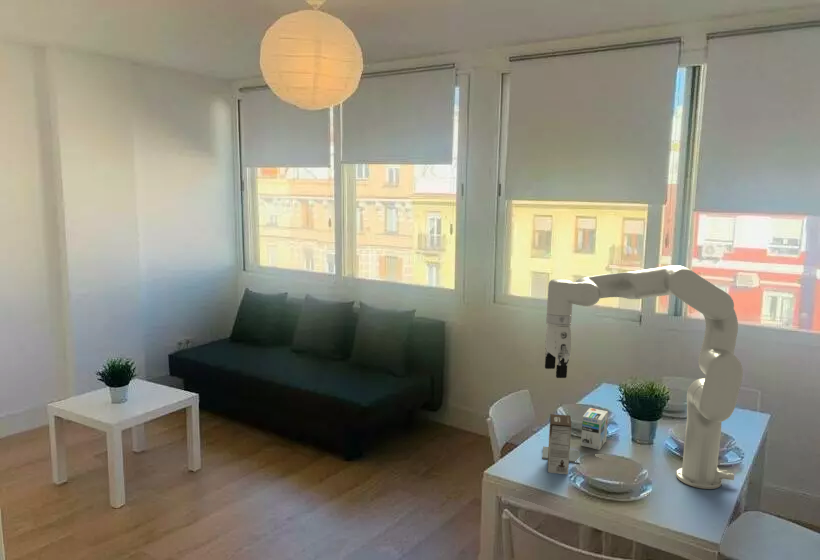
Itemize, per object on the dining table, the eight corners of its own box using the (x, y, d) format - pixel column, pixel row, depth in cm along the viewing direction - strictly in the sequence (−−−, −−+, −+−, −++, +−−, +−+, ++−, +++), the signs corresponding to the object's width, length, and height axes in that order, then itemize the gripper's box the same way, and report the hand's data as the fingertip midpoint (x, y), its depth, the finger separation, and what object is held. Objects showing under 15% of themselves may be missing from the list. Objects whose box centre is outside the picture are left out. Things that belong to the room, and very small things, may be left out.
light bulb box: (599, 450, 207) (602, 420, 205) (580, 446, 210) (582, 416, 208) (606, 440, 216) (608, 410, 214) (587, 435, 219) (589, 407, 218)
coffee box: (547, 460, 198) (550, 413, 196) (567, 462, 197) (570, 415, 194) (547, 472, 189) (550, 423, 187) (568, 475, 188) (572, 425, 185)
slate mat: (579, 452, 204) (579, 450, 204) (580, 463, 196) (580, 462, 196) (543, 448, 207) (543, 446, 207) (542, 459, 199) (542, 457, 199)
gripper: (581, 325, 179) (577, 381, 182) (560, 313, 196) (556, 365, 199) (557, 325, 178) (553, 381, 181) (537, 313, 195) (534, 365, 198)
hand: (555, 372), depth 190 cm, fingers open, 9 cm apart
